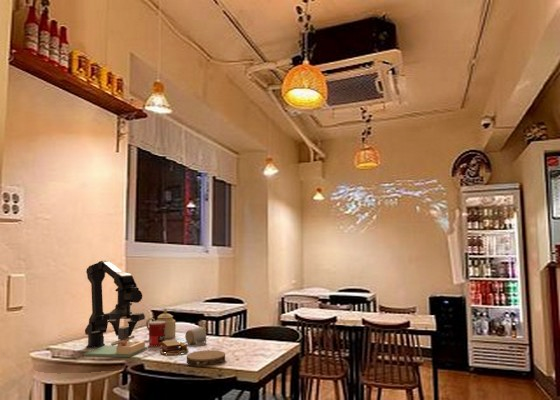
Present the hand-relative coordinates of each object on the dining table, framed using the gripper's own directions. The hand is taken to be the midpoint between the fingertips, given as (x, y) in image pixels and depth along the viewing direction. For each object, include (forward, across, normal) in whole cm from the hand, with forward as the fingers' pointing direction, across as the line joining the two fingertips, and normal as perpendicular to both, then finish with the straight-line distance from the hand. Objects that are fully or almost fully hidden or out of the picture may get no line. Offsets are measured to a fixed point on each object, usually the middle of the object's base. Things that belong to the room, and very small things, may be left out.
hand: (123, 335), depth 207 cm
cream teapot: (+8, +2, +35) cm, 36 cm away
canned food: (+8, +8, +18) cm, 21 cm away
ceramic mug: (+8, +27, +23) cm, 36 cm away
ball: (+4, +4, 0) cm, 6 cm away
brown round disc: (+8, +44, -9) cm, 46 cm away
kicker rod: (+6, 0, 0) cm, 6 cm away
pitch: (+8, -4, 0) cm, 8 cm away
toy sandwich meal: (+8, +23, +4) cm, 25 cm away
